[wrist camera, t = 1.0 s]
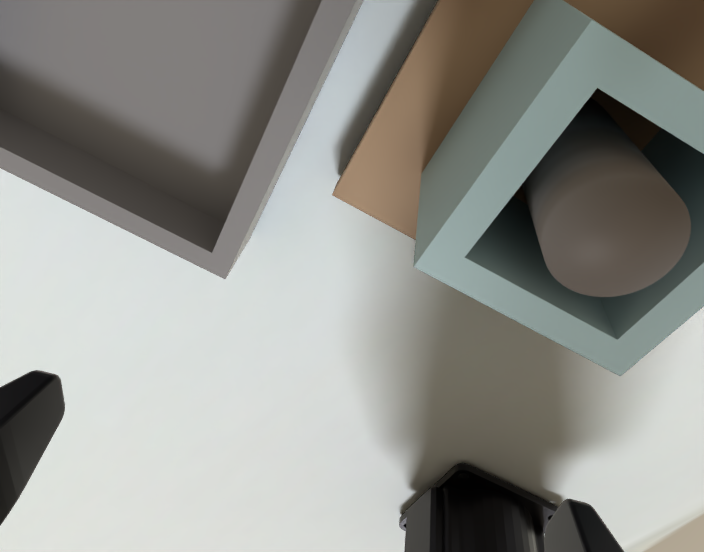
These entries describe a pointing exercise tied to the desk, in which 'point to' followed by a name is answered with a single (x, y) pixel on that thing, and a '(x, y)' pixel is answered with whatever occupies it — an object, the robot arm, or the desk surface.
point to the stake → (560, 160)
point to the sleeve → (523, 156)
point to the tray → (164, 108)
